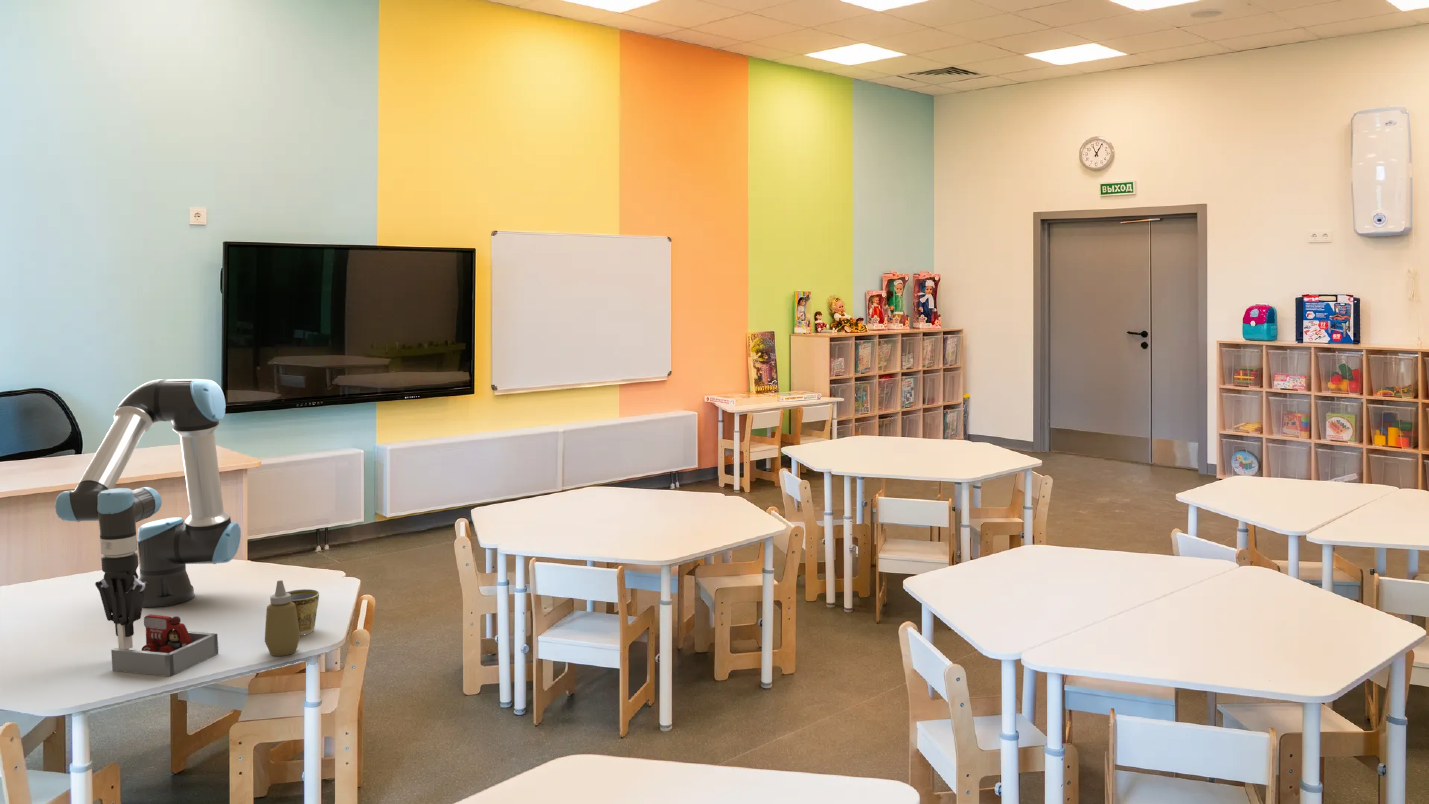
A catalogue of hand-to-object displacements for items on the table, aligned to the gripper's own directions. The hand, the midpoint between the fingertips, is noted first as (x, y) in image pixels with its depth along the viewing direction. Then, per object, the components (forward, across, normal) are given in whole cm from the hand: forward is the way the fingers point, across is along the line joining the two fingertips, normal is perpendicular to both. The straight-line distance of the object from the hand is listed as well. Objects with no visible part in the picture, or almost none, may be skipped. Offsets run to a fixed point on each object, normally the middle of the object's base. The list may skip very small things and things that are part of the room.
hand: (125, 648), depth 241 cm
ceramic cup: (+2, +28, +26) cm, 39 cm away
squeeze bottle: (+2, +35, +11) cm, 37 cm away
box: (+2, +12, -1) cm, 12 cm away
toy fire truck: (+2, +10, +2) cm, 11 cm away
